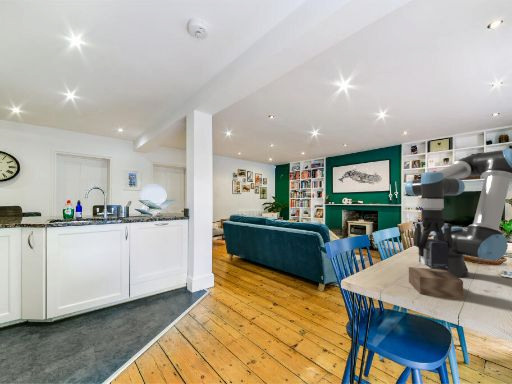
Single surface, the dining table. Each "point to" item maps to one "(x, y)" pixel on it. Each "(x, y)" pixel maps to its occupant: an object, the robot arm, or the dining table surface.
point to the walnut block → (436, 282)
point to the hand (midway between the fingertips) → (433, 264)
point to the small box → (436, 254)
